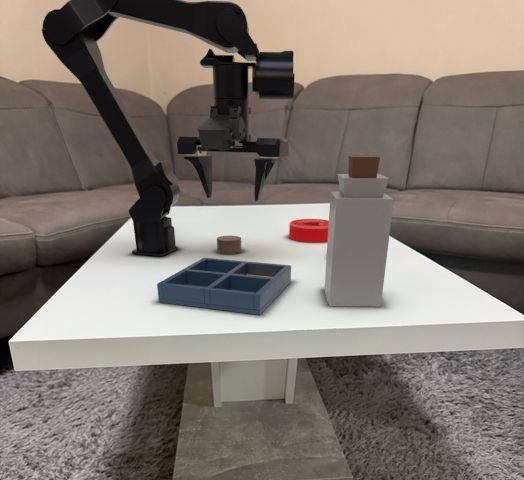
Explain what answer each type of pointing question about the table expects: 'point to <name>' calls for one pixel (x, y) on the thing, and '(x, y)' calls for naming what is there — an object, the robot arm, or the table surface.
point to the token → (229, 244)
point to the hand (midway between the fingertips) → (232, 199)
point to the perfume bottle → (358, 235)
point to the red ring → (309, 230)
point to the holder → (226, 285)
